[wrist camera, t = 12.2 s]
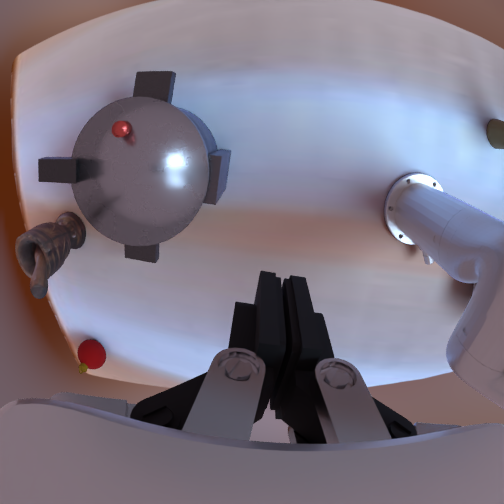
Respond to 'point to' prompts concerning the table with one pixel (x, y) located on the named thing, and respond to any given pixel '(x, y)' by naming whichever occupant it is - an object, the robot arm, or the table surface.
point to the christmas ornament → (91, 355)
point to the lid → (136, 171)
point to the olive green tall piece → (496, 133)
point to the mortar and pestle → (48, 249)
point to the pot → (162, 89)
